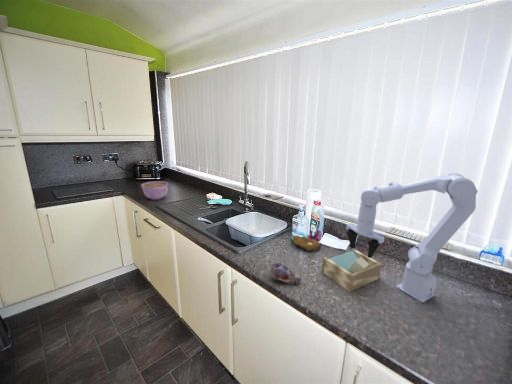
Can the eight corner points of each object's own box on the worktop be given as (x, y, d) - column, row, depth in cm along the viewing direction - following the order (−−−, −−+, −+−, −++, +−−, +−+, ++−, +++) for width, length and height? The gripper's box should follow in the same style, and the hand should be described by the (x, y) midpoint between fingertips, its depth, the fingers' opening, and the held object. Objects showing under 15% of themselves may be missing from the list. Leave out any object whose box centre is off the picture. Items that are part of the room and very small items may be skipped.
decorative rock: (285, 245, 120) (312, 257, 111) (285, 238, 119) (312, 249, 110) (297, 236, 129) (323, 247, 119) (298, 230, 127) (324, 240, 118)
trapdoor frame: (321, 271, 98) (323, 257, 96) (350, 261, 106) (352, 247, 104) (349, 291, 86) (352, 276, 84) (379, 278, 94) (382, 263, 93)
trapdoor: (328, 259, 96) (329, 258, 96) (351, 252, 103) (352, 250, 102) (345, 284, 90) (347, 283, 89) (369, 274, 96) (371, 272, 96)
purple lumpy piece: (303, 280, 92) (304, 266, 91) (295, 291, 86) (296, 276, 84) (275, 270, 98) (276, 257, 97) (266, 280, 92) (267, 266, 90)
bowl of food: (174, 198, 189) (173, 184, 186) (149, 203, 175) (147, 188, 172) (162, 193, 202) (161, 180, 199) (138, 197, 188) (136, 183, 185)
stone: (362, 272, 95) (369, 264, 91) (356, 276, 92) (364, 268, 89) (353, 264, 97) (360, 256, 93) (348, 268, 94) (355, 260, 91)
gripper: (391, 224, 86) (384, 258, 90) (355, 212, 98) (351, 242, 101) (380, 228, 82) (374, 263, 86) (344, 215, 94) (340, 246, 97)
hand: (361, 252), depth 93 cm, fingers open, 7 cm apart
